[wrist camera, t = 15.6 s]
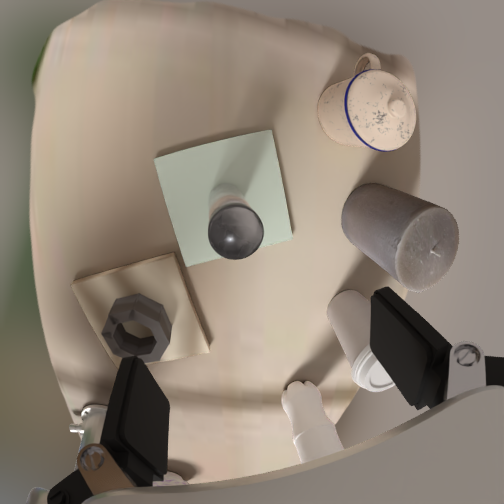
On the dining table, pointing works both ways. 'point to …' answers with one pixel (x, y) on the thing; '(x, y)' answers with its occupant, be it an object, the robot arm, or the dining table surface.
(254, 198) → the sage pad
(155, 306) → the block
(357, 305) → the coffee cup
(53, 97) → the dining table surface
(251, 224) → the steel peg
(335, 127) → the teacup with lid
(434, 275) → the pillar candle
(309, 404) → the water bottle
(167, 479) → the paper bowls
